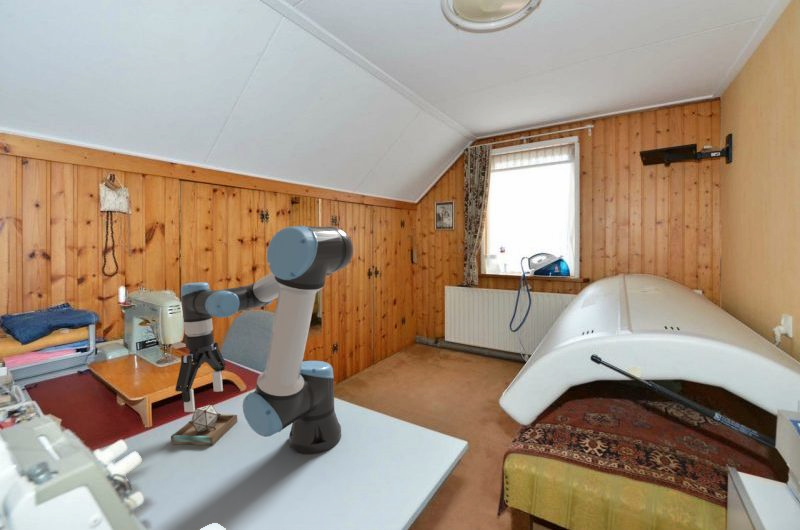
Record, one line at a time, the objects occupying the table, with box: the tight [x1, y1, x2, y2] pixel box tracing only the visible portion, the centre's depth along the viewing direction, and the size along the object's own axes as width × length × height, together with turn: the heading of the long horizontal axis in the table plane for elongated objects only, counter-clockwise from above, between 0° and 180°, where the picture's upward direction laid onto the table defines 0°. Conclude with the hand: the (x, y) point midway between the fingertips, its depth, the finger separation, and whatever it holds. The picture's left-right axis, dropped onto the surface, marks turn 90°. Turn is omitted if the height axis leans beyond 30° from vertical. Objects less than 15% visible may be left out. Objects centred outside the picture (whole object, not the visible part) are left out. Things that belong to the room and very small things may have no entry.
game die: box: [188, 401, 221, 436], centre depth 108 cm, size 9×8×10 cm
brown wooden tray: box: [170, 413, 238, 446], centre depth 109 cm, size 13×13×2 cm
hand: (205, 400), depth 108 cm, fingers open, 13 cm apart
